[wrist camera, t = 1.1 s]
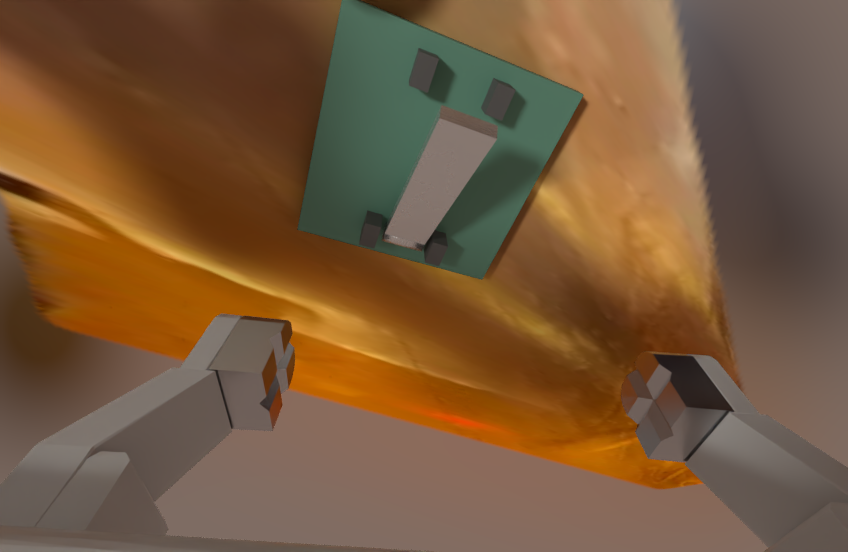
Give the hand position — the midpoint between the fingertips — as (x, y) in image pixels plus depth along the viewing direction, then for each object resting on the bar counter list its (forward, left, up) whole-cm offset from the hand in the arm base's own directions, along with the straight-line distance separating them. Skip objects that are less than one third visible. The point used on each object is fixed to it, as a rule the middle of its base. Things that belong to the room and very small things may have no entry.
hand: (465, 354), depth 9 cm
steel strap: (+3, -6, -25) cm, 25 cm away
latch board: (+3, -6, -30) cm, 30 cm away
